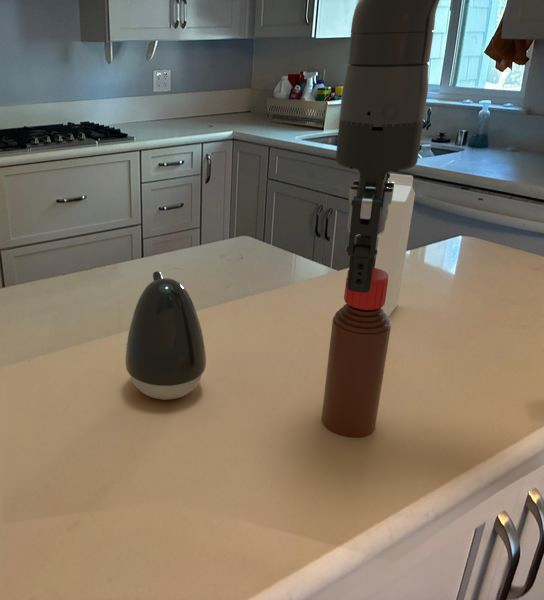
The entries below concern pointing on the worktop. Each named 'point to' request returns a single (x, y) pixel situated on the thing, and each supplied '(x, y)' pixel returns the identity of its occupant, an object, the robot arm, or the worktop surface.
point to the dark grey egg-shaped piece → (165, 341)
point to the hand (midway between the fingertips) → (361, 278)
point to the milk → (395, 238)
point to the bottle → (355, 370)
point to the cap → (369, 292)
